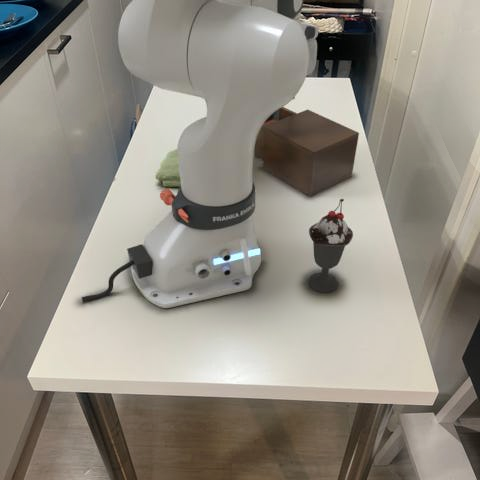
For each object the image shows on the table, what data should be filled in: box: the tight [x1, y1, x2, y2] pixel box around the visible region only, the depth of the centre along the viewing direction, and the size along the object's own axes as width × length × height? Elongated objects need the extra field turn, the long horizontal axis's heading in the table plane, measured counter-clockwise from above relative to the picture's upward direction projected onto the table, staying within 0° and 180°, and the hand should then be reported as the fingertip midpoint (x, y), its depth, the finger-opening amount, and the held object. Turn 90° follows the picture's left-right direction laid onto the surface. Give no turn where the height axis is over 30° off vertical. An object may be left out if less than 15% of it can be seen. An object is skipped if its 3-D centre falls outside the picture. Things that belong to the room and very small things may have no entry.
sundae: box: [308, 198, 354, 293], centre depth 77 cm, size 7×7×15 cm
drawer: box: [254, 106, 297, 160], centre depth 110 cm, size 18×11×8 cm, turn 39°
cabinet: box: [262, 109, 360, 197], centre depth 104 cm, size 15×13×10 cm
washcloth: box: [155, 149, 181, 188], centre depth 106 cm, size 13×18×3 cm
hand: (273, 105), depth 105 cm, fingers open, 8 cm apart
